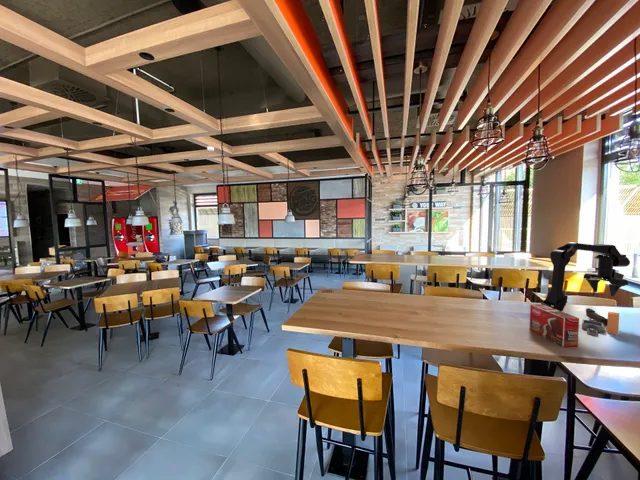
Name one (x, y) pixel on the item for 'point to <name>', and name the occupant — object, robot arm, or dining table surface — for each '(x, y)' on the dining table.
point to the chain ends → (592, 326)
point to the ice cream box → (554, 325)
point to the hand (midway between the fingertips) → (603, 294)
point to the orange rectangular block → (613, 323)
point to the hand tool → (596, 316)
